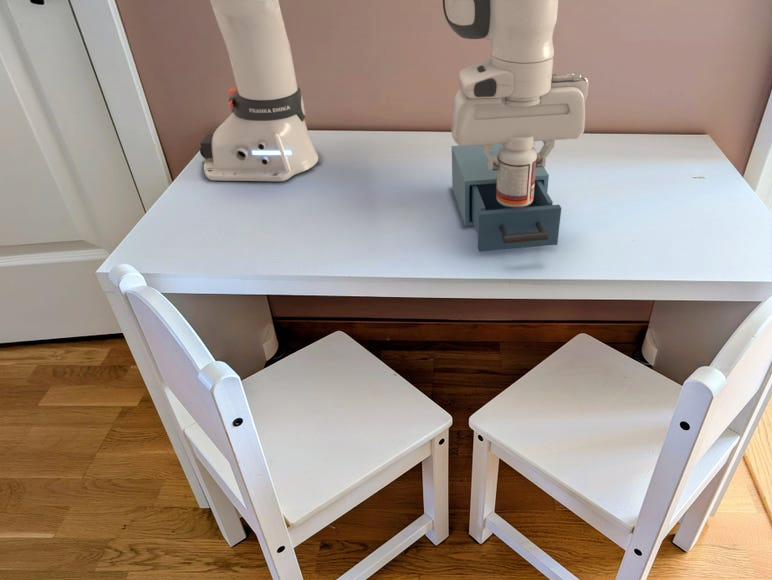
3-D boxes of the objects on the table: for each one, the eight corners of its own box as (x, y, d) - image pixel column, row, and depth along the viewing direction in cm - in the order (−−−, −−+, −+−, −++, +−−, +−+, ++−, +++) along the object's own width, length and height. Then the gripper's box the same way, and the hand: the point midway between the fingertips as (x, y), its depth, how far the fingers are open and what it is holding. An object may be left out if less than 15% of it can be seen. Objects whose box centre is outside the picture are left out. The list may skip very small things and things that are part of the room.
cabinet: (544, 220, 110) (549, 175, 104) (465, 226, 108) (464, 181, 102) (525, 183, 120) (528, 140, 115) (452, 189, 118) (451, 145, 112)
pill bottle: (516, 188, 104) (519, 121, 96) (541, 201, 100) (547, 133, 92) (488, 198, 101) (490, 130, 93) (513, 213, 97) (517, 143, 89)
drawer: (565, 259, 99) (569, 221, 94) (483, 267, 97) (484, 229, 92) (536, 206, 112) (539, 171, 107) (464, 212, 110) (464, 176, 105)
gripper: (583, 65, 91) (573, 154, 100) (448, 71, 88) (450, 163, 97) (597, 79, 86) (585, 171, 96) (455, 86, 83) (456, 181, 93)
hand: (516, 167), depth 97 cm, fingers closed on pill bottle, 6 cm apart
